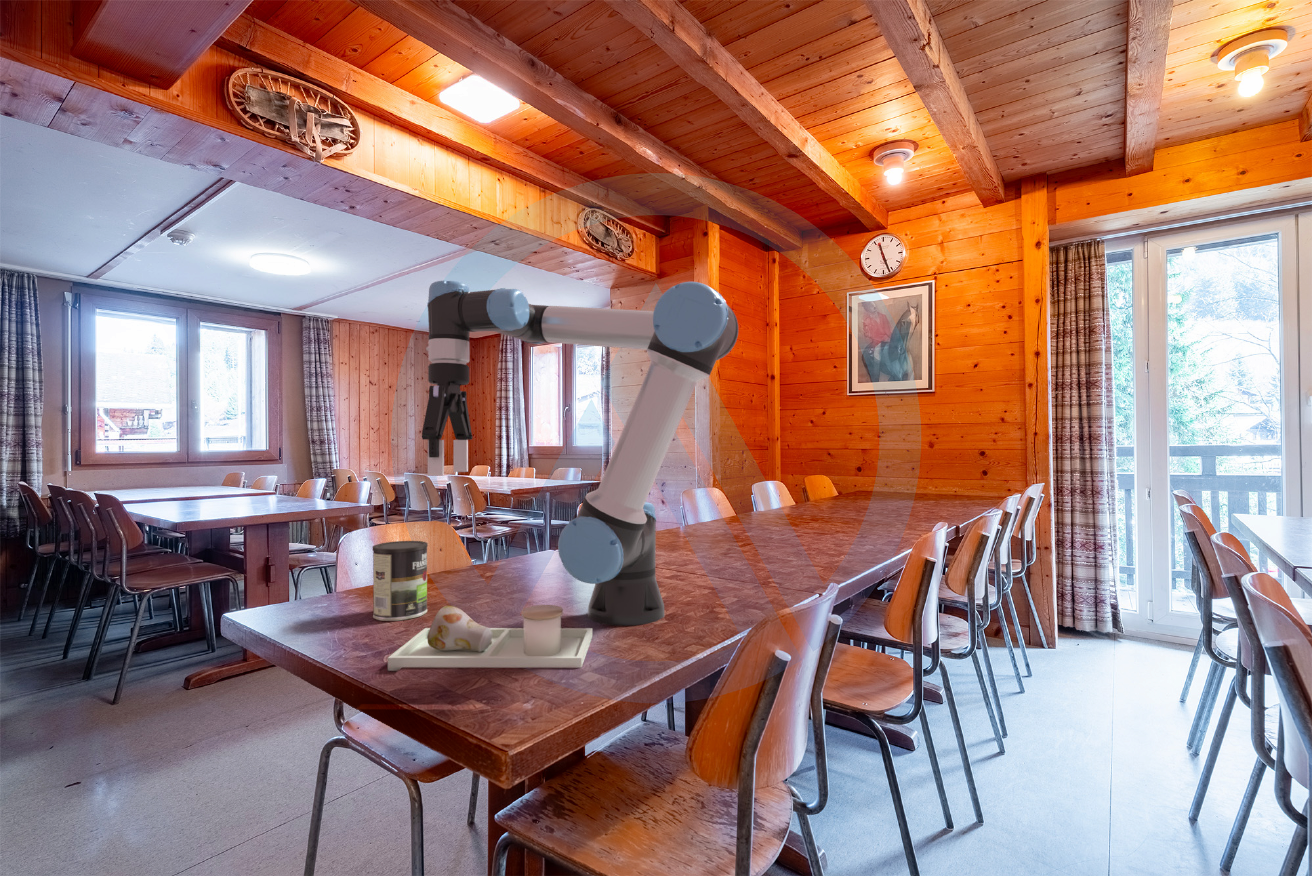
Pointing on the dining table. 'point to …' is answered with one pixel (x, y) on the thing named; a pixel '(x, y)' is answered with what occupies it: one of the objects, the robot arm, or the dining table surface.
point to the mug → (457, 631)
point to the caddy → (494, 652)
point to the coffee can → (399, 580)
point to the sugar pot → (542, 630)
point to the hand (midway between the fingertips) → (449, 473)
